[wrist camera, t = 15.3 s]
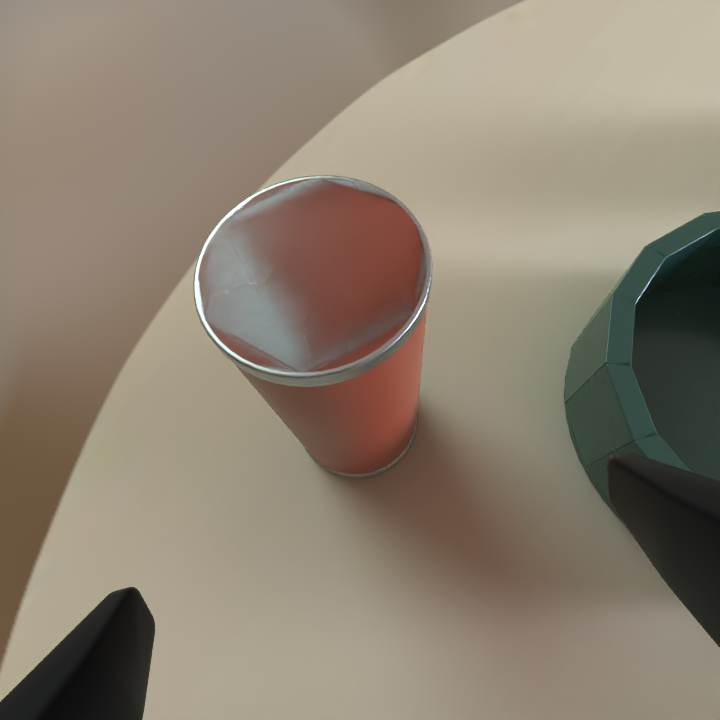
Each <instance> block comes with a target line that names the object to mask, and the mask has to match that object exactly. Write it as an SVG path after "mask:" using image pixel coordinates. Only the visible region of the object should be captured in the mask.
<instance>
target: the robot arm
mask: <svg viewBox="0 0 720 720" xmlns="http://www.w3.org/2000/svg"><path fill="white" fill-rule="evenodd" d="M607 471H608V493H609V498H610V501H611V503H612V505H613V507H614V508H615V510H616V511H617V513H618V514H619V516H620V517H621V519H622V520H623V522H624V523H625V524H626V526H627V527H628V529H629V530H630V532H631V533H632V535H633V536H634V538H635V539H636V541H637V542H638V544H639V545H640V546H641V548H642V549H643V551H644V552H645V554H646V555H647V557H648V558H649V560H650V561H651V563H652V564H653V566H654V567H655V568H656V570H657V571H658V573H659V574H660V575H661V577H662V578H663V580H664V581H665V582H666V583H667V585H668V586H669V587H670V588H671V590H672V591H673V592H674V593H675V594H676V596H677V597H678V598H679V599H680V600H681V602H682V603H683V604H684V605H685V606H686V608H687V609H688V610H689V611H690V612H691V614H692V615H693V616H694V617H695V618H696V620H697V621H698V622H699V623H700V624H701V626H702V627H703V628H704V629H705V630H706V632H707V633H708V634H709V635H710V636H711V638H712V639H713V640H714V641H715V642H716V644H717V645H718V646H719V647H720V481H718V480H714V479H711V478H708V477H705V476H702V475H699V474H696V473H693V472H689V471H686V470H683V469H680V468H677V467H674V466H671V465H668V464H665V463H661V462H658V461H655V460H652V459H649V458H646V457H643V456H640V455H636V454H633V453H627V454H623V455H619V456H616V457H612V458H611V459H609V461H608V464H607ZM154 635H155V622H154V618H153V616H152V614H151V612H150V610H149V608H148V607H147V605H146V603H145V601H144V599H143V598H142V596H141V594H140V592H139V591H138V589H136V588H134V587H129V588H125V589H121V590H117V591H114V592H112V593H110V594H109V595H108V596H107V597H106V598H105V599H104V600H103V601H102V602H101V603H100V604H99V605H98V606H97V607H96V608H95V609H94V610H93V611H92V612H90V613H89V614H88V615H87V616H86V617H85V618H84V619H83V620H82V621H81V622H80V623H79V624H78V625H77V626H76V627H75V628H74V629H73V630H72V631H71V632H70V633H69V634H68V635H67V636H66V637H65V638H64V639H63V640H62V641H61V642H60V643H59V644H58V645H57V646H56V647H55V648H54V649H53V650H52V651H51V652H50V653H49V654H48V655H47V656H46V657H45V658H44V659H43V660H42V661H41V662H40V663H39V664H38V665H37V666H36V667H35V668H34V669H33V670H32V671H31V672H30V673H29V674H28V675H27V676H26V677H25V678H24V679H23V680H22V681H21V682H20V683H19V684H18V685H17V686H16V687H15V688H14V689H13V690H12V691H11V692H10V693H9V694H8V695H7V696H6V697H5V698H4V699H3V700H2V701H1V702H0V720H142V718H143V712H144V706H145V699H146V692H147V685H148V678H149V671H150V664H151V656H152V649H153V642H154Z"/></svg>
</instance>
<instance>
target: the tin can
mask: <svg viewBox="0 0 720 720" xmlns="http://www.w3.org/2000/svg"><path fill="white" fill-rule="evenodd" d="M431 281H432V258H431V250H430V247H429V244H428V240H427V237H426V235H425V233H424V231H423V229H422V227H421V225H420V224H419V222H418V221H417V219H416V218H415V216H414V215H413V214H412V213H411V211H410V210H409V209H408V208H407V207H406V206H405V205H404V204H403V203H402V202H400V201H399V200H398V199H397V198H396V197H394V196H393V195H391V194H389V193H388V192H386V191H385V190H383V189H381V188H379V187H377V186H374V185H372V184H370V183H367V182H364V181H361V180H357V179H352V178H347V177H340V176H308V177H301V178H296V179H291V180H287V181H284V182H281V183H277V184H275V185H272V186H270V187H267V188H265V189H263V190H261V191H259V192H257V193H255V194H253V195H251V196H250V197H248V198H247V199H245V200H244V201H242V202H241V203H239V204H238V205H237V206H236V207H234V209H232V210H231V211H230V212H228V213H227V214H226V216H225V217H224V218H223V219H222V220H221V221H220V222H219V223H218V224H217V226H216V227H215V228H214V229H213V231H212V232H211V233H210V235H209V237H208V239H207V240H206V242H205V244H204V246H203V248H202V250H201V253H200V255H199V257H198V261H197V265H196V269H195V275H194V300H195V305H196V310H197V313H198V316H199V319H200V321H201V324H202V325H203V327H204V329H205V331H206V333H207V334H208V336H209V337H210V338H211V339H212V341H213V342H214V343H215V345H216V346H217V347H218V348H219V349H220V350H221V352H222V353H223V354H224V355H225V356H226V357H227V358H228V359H229V360H231V361H232V362H233V363H234V364H235V365H236V366H237V367H238V368H239V370H240V371H241V372H242V373H243V374H244V376H245V377H246V378H247V379H248V380H249V381H250V383H251V384H252V385H253V386H254V387H255V389H256V390H257V391H258V392H259V393H260V395H261V396H262V397H263V398H264V399H265V400H266V402H267V403H268V404H269V405H270V406H271V408H272V409H273V410H274V411H275V412H276V414H277V415H278V416H279V417H280V418H281V419H282V421H283V422H284V423H285V424H286V425H287V427H288V428H289V429H290V430H291V431H292V433H293V434H294V435H295V436H296V437H297V439H298V440H299V441H300V442H301V443H302V444H303V446H304V447H305V449H306V450H307V452H308V453H309V454H310V456H311V457H312V458H313V459H314V460H315V461H316V462H317V463H318V464H319V465H320V466H322V467H323V468H325V469H326V470H328V471H330V472H332V473H334V474H337V475H340V476H345V477H352V478H361V477H368V476H373V475H376V474H379V473H381V472H383V471H385V470H387V469H389V468H390V467H392V466H393V465H395V464H396V463H397V462H398V461H399V460H400V459H401V458H402V457H403V456H404V455H405V454H406V452H407V451H408V449H409V448H410V446H411V444H412V442H413V439H414V436H415V433H416V428H417V419H418V412H417V409H418V398H419V387H420V376H421V366H422V355H423V344H424V333H425V322H426V311H427V304H428V300H429V295H430V289H431Z"/></svg>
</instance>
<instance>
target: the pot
mask: <svg viewBox="0 0 720 720" xmlns="http://www.w3.org/2000/svg"><path fill="white" fill-rule="evenodd" d="M564 399H565V402H564V403H565V410H566V418H567V422H568V427H569V431H570V435H571V439H572V441H573V444H574V447H575V449H576V452H577V455H578V457H579V459H580V461H581V463H582V465H583V467H584V469H585V471H586V473H587V475H588V477H589V479H590V480H591V482H592V483H593V485H594V486H595V488H596V489H597V491H598V492H599V494H600V495H601V496H602V498H603V499H604V501H605V502H606V503H607V504H608V505H609V507H610V508H611V509H612V510H613V511H614V512H615V514H616V515H617V516H618V517H619V518H620V520H621V521H623V520H622V519H621V517H620V516H619V514H618V513H617V511H616V510H615V508H614V507H613V505H612V503H611V501H610V498H609V493H608V471H607V464H608V461H609V459H611V458H612V457H616V456H619V455H623V454H627V453H633V454H636V455H640V456H643V457H646V458H649V459H652V460H655V461H658V462H661V463H665V464H668V465H671V466H674V467H677V468H680V469H683V470H686V471H689V472H693V473H696V474H699V475H702V476H705V477H708V478H711V479H714V480H718V481H720V211H718V212H711V213H704V214H702V215H700V216H698V217H697V218H695V219H693V220H691V221H689V222H688V223H686V224H684V225H682V226H680V227H679V228H677V229H675V230H673V231H671V232H670V233H668V234H666V235H664V236H662V237H661V238H659V239H657V240H655V241H653V242H652V243H650V244H648V245H647V246H645V247H644V248H643V250H642V251H641V252H640V254H639V255H638V256H637V258H636V259H635V260H634V262H633V263H632V264H631V265H630V267H629V268H628V269H627V271H626V272H625V273H624V275H623V276H622V277H621V279H620V280H619V281H618V283H617V284H616V285H615V286H614V288H613V289H612V290H611V292H610V293H609V294H608V296H607V297H606V298H605V300H604V301H603V302H602V304H601V305H600V306H599V308H598V309H597V311H596V312H595V314H594V315H593V317H592V318H591V319H590V321H589V322H588V324H587V325H586V327H585V328H584V329H583V331H582V333H581V334H580V335H579V337H578V338H577V340H576V341H575V343H574V344H573V346H572V348H571V354H570V359H569V362H568V367H567V372H566V377H565V392H564Z"/></svg>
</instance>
